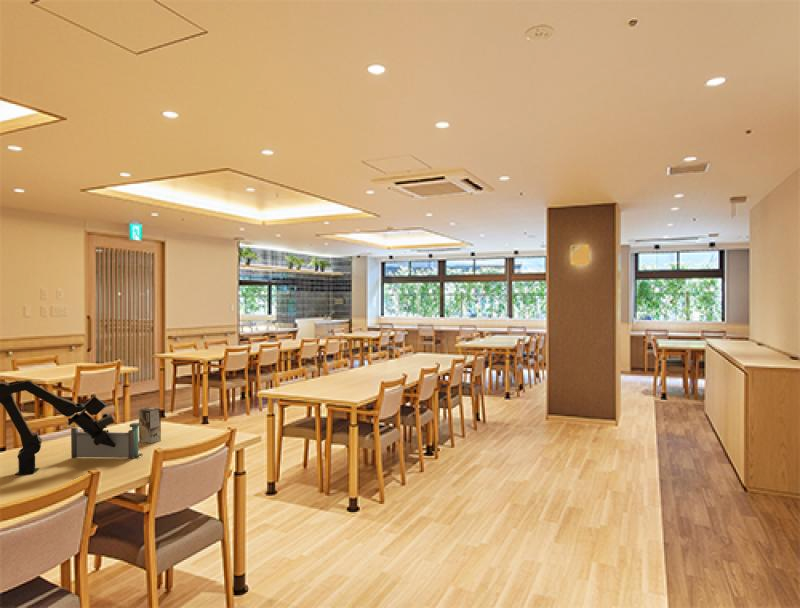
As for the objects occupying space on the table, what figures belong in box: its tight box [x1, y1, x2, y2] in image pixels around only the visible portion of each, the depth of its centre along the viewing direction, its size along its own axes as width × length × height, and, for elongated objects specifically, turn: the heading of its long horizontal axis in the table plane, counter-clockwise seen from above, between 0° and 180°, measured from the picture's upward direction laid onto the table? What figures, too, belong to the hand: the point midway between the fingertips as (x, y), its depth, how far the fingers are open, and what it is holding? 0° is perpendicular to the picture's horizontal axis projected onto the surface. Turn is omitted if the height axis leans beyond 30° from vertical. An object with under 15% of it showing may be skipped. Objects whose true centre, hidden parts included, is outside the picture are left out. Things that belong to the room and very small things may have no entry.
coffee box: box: [138, 406, 162, 444], centre depth 266 cm, size 9×6×16 cm
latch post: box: [129, 422, 143, 458], centre depth 240 cm, size 5×3×15 cm, turn 87°
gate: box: [70, 426, 135, 459], centre depth 238 cm, size 29×3×13 cm, turn 88°
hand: (114, 446), depth 236 cm, fingers closed
